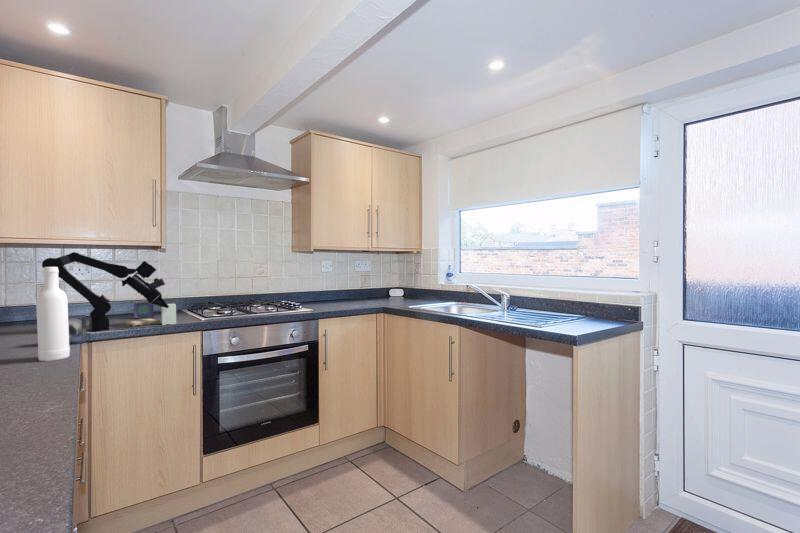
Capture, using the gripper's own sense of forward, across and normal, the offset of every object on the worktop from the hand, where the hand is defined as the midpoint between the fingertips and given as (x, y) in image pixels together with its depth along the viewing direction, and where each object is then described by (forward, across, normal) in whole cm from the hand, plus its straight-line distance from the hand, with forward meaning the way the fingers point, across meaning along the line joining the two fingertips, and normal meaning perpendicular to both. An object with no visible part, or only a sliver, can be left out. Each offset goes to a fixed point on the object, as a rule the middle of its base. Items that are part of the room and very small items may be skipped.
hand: (167, 306), depth 200 cm
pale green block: (+6, 0, +6) cm, 9 cm away
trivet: (-2, +10, +14) cm, 17 cm away
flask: (0, +31, +13) cm, 33 cm away
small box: (-19, -29, +31) cm, 47 cm away
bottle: (-20, -56, +32) cm, 68 cm away
